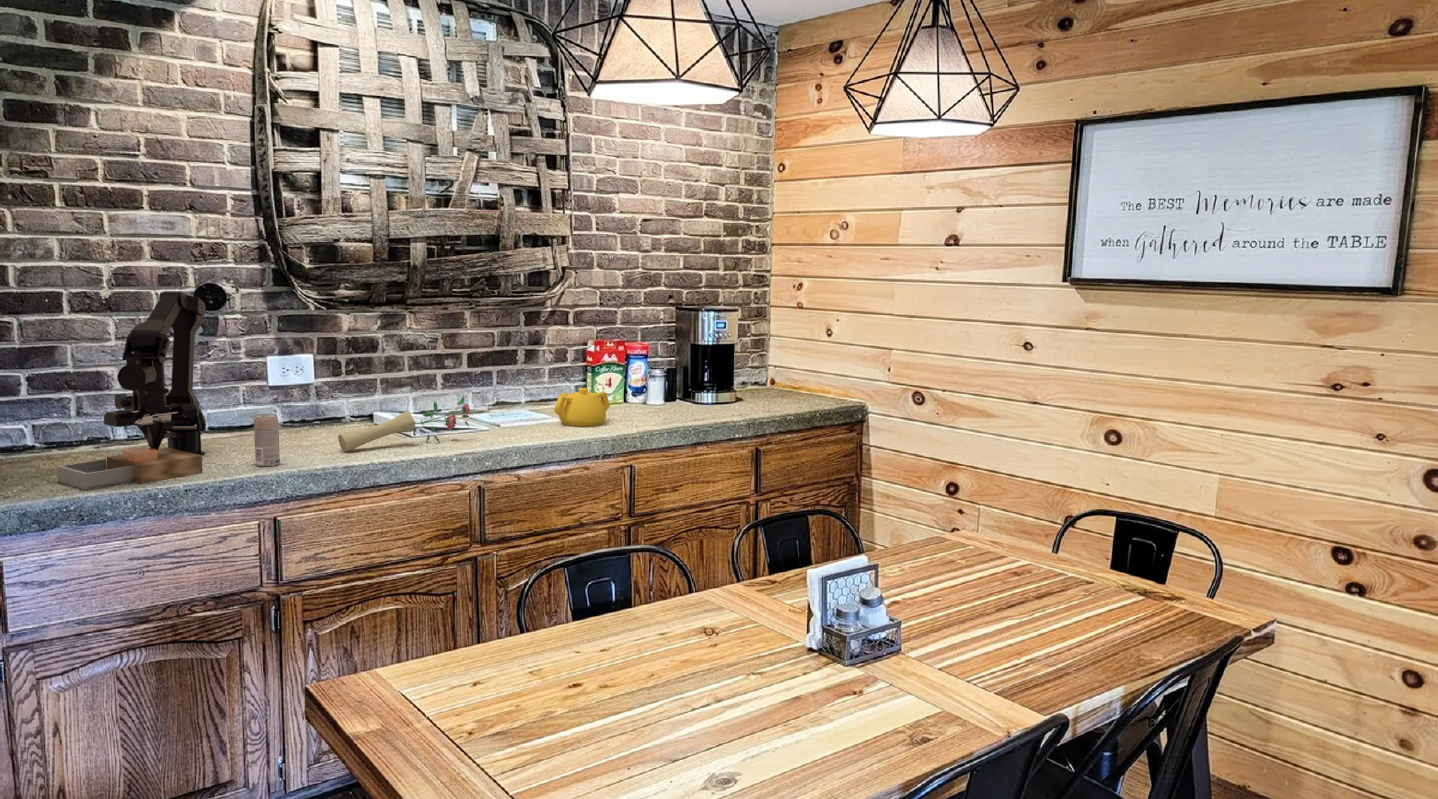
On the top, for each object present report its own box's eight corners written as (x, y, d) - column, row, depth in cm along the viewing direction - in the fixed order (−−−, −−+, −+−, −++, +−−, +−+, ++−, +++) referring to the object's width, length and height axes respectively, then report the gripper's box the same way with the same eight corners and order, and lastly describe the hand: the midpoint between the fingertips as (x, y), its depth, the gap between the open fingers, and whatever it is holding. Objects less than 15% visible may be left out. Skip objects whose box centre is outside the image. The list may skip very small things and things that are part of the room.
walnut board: (168, 463, 240) (167, 447, 240) (202, 472, 233) (201, 455, 232) (107, 474, 228) (106, 457, 228) (141, 483, 221) (140, 465, 221)
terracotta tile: (145, 455, 231) (144, 446, 230) (157, 458, 228) (157, 449, 228) (122, 458, 226) (122, 450, 226) (135, 462, 224) (134, 453, 224)
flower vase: (347, 477, 264) (465, 434, 285) (361, 472, 254) (483, 428, 276) (331, 434, 263) (450, 395, 285) (345, 428, 254) (468, 388, 275)
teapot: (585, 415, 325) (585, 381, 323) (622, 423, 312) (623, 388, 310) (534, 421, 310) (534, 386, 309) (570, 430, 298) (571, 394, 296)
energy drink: (276, 461, 247) (274, 413, 245) (282, 465, 242) (280, 416, 241) (253, 463, 243) (251, 414, 241) (258, 467, 239) (256, 418, 237)
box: (105, 473, 229) (104, 458, 228) (134, 481, 223) (133, 466, 222) (57, 481, 220) (56, 466, 220) (86, 490, 214) (85, 474, 214)
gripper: (170, 376, 239) (173, 440, 242) (88, 384, 224) (92, 453, 226) (198, 381, 234) (201, 446, 236) (115, 389, 218) (120, 460, 220)
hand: (154, 451), depth 230 cm, fingers closed
